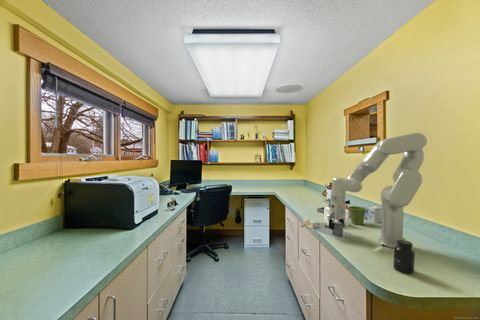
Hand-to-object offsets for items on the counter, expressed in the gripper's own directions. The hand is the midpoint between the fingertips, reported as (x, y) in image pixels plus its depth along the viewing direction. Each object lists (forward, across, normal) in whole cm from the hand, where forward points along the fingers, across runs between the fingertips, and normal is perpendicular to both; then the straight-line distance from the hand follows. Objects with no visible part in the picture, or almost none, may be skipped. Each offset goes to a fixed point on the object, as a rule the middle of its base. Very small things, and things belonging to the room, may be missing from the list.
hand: (336, 227), depth 122 cm
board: (+6, +3, +9) cm, 11 cm away
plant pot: (+5, +37, +7) cm, 38 cm away
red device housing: (+5, +54, +30) cm, 62 cm away
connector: (+4, 0, -1) cm, 4 cm away
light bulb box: (+5, +54, +5) cm, 55 cm away
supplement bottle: (+5, -10, -36) cm, 38 cm away
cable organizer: (+6, +21, +13) cm, 25 cm away
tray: (+5, +54, +30) cm, 62 cm away
